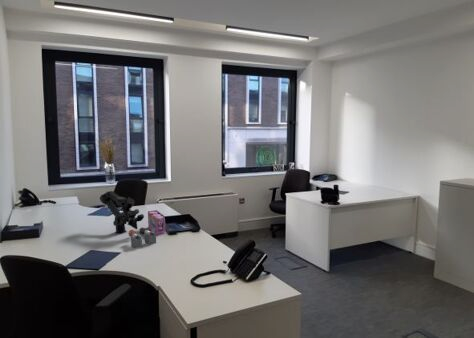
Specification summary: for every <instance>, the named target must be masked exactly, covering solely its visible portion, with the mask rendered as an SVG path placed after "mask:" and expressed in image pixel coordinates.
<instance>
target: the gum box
mask: <svg viewBox="0 0 474 338" xmlns="http://www.w3.org/2000/svg"><path fill="white" fill-rule="evenodd" d="M147 224H148V225H147V226H148V229H150V230H151V231H152V232H155V233H156V235H160V234H161V235H162V234H166V219H165V215H164V214H163V213H161V212H159V211H158V210H157V209H156V210H150V211H149V210H148V211H147Z"/></svg>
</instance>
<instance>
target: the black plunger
mask: <svg viewBox="0 0 474 338" xmlns="http://www.w3.org/2000/svg"><path fill="white" fill-rule="evenodd" d="M145 233H149V234H151V232H150V230H147V228H145V227H142V226H141V228H139V235H142V236H143V235H144V236H145Z"/></svg>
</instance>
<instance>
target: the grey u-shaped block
mask: <svg viewBox="0 0 474 338" xmlns="http://www.w3.org/2000/svg"><path fill="white" fill-rule="evenodd" d="M149 231H150V230H149ZM150 232H151V234H149V233H145V234H144V244H146V245H148V246H150V245H154V244H156V243H157V234H156V233H155V232H153V231H152V230H151V231H150Z"/></svg>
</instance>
